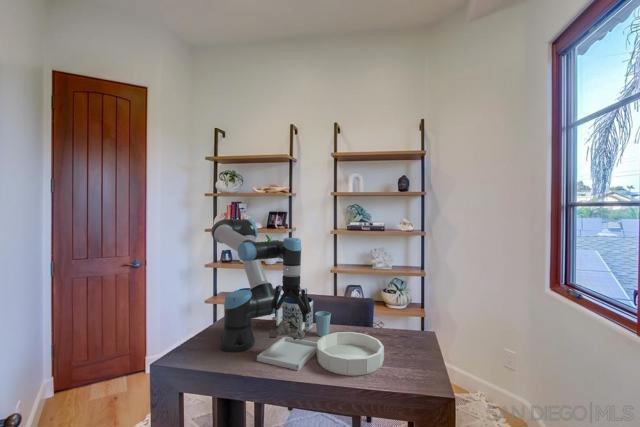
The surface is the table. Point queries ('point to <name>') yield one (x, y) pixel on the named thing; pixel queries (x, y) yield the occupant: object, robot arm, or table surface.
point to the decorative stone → (288, 329)
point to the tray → (289, 353)
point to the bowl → (350, 353)
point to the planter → (296, 312)
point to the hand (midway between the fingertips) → (290, 327)
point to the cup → (322, 322)
